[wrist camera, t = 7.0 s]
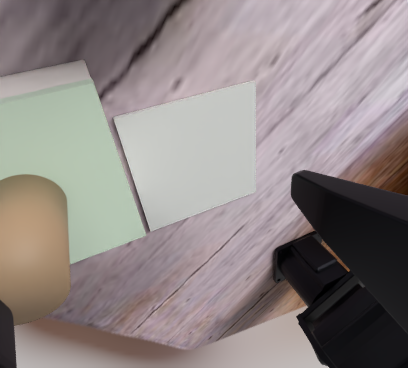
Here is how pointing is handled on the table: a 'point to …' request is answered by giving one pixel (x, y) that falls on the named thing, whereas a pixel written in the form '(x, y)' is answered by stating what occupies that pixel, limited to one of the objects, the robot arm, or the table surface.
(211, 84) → the table surface
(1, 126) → the lid
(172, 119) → the mat
